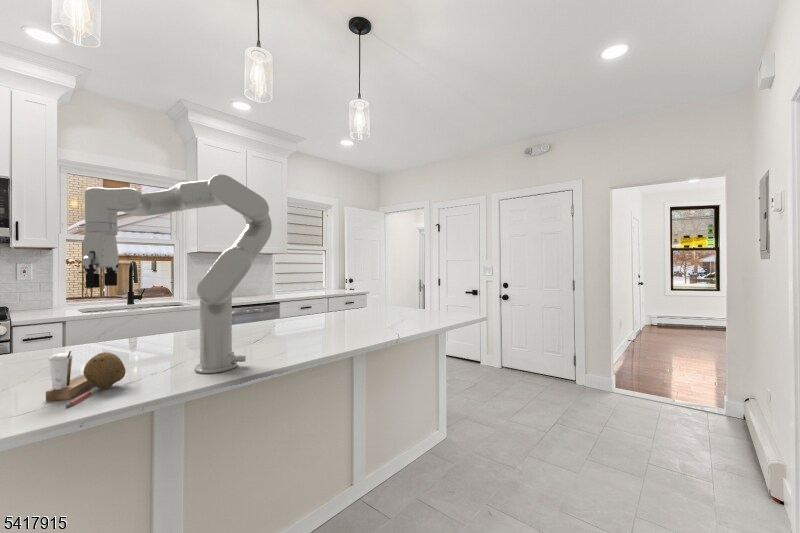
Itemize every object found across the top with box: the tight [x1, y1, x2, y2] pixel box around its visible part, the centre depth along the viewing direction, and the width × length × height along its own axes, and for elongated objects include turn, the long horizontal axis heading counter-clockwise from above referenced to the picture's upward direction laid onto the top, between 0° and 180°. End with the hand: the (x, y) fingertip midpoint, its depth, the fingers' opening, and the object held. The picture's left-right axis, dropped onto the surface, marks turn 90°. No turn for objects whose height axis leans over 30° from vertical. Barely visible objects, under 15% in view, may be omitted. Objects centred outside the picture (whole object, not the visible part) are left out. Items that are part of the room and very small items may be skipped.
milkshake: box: [48, 350, 74, 390], centre depth 94 cm, size 4×5×10 cm
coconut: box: [83, 351, 126, 390], centre depth 102 cm, size 9×9×10 cm
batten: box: [45, 374, 95, 402], centre depth 100 cm, size 5×14×2 cm, turn 14°
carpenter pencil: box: [64, 391, 92, 409], centre depth 92 cm, size 1×9×1 cm, turn 14°
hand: (102, 286), depth 109 cm, fingers open, 9 cm apart
